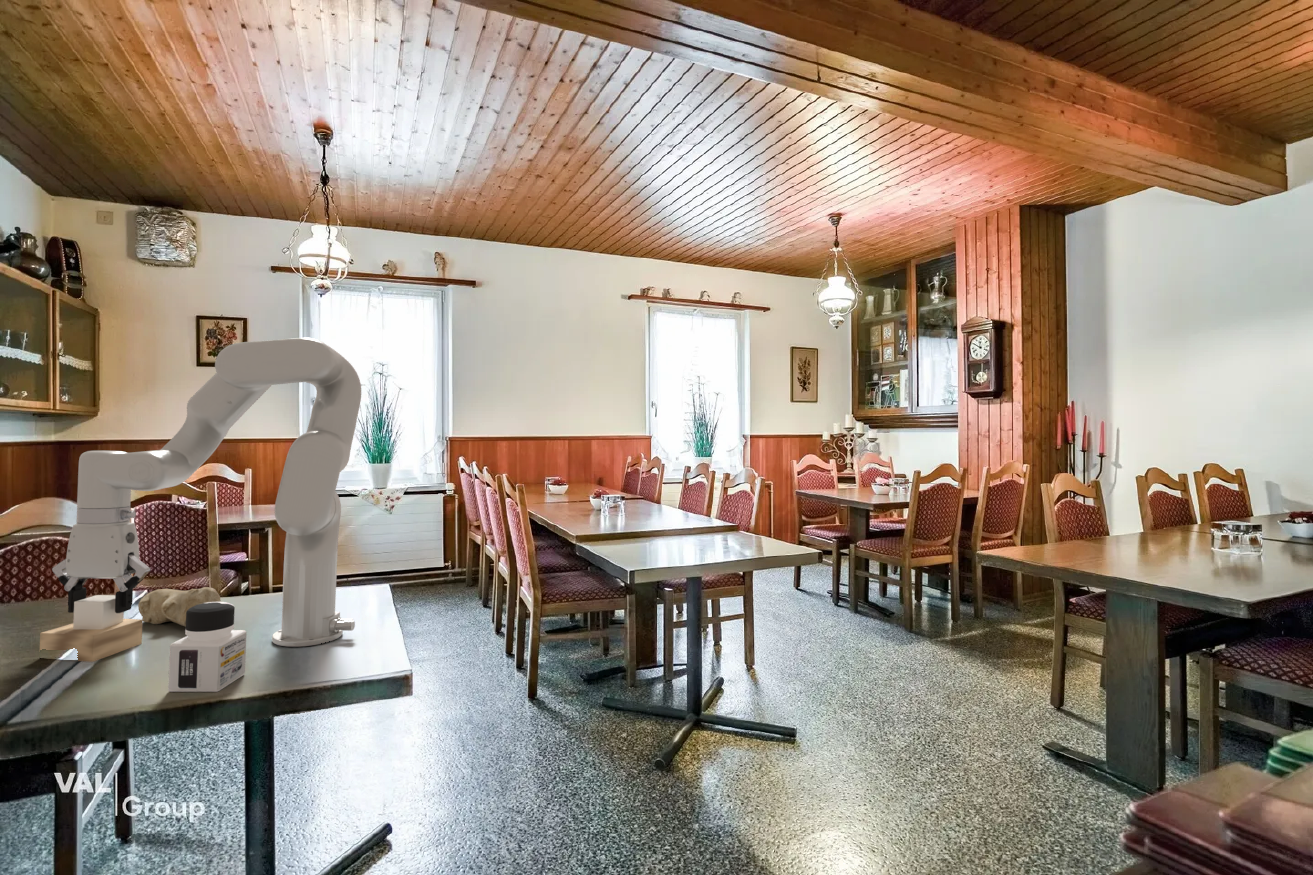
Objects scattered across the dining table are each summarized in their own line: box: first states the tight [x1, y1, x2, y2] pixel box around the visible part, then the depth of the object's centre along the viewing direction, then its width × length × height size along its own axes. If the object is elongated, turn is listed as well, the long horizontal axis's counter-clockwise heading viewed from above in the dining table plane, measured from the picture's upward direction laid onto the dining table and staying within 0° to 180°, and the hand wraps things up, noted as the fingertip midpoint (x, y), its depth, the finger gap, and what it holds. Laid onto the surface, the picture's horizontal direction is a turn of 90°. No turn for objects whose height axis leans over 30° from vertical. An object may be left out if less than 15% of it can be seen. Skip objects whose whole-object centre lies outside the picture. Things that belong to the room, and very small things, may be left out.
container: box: [167, 601, 248, 693], centre depth 104 cm, size 8×8×13 cm
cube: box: [72, 594, 125, 629], centre depth 117 cm, size 5×5×5 cm
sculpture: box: [137, 586, 222, 628], centre depth 134 cm, size 9×17×10 cm
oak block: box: [39, 618, 143, 663], centre depth 117 cm, size 10×10×5 cm
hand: (100, 610), depth 117 cm, fingers open, 7 cm apart
